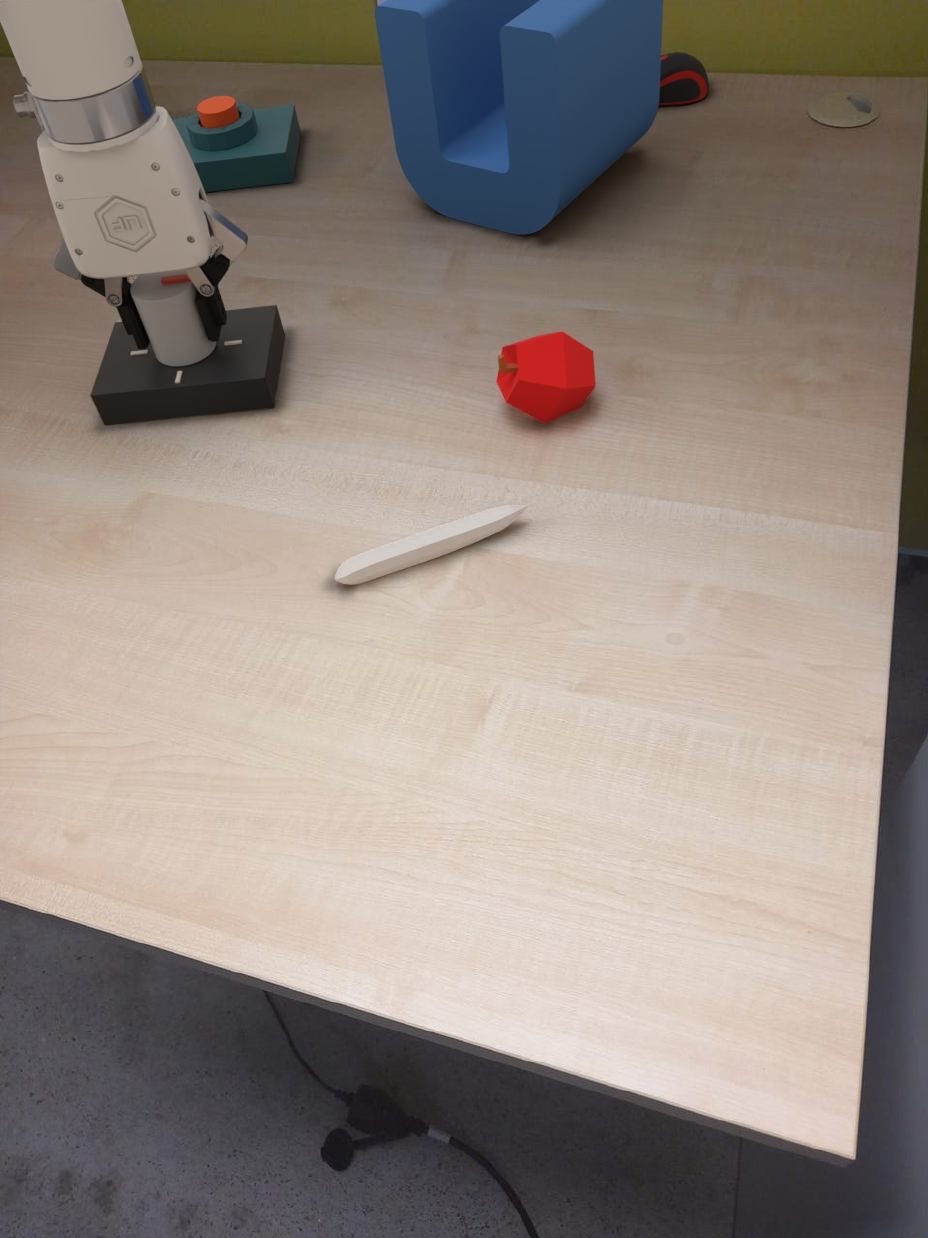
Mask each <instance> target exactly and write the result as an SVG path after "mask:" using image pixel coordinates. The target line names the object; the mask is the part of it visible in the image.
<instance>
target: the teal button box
mask: <svg viewBox="0 0 928 1238" xmlns="http://www.w3.org/2000/svg"><path fill="white" fill-rule="evenodd" d="M236 105H237V109H238V113H239V117H240V119H239V120H237V121H236V122H235V123H233V124H230V125H227V126H225V127H221V128H212V129H210V128H204V127H202V124H201V121H200V118H199V114H198V111H196V112H195V113H194V114H192V115H191V116H188V117H180V118H171V119H172V121H173V123H174V125H175V126H176V128H177V130H178V132H179V134H180V136H181V138H182V140H183V142H184V144H185V146H186V148H187V150H188V152H189V155H190V157H191V159H192V161H193V163H194V166H195V168H196V171H197V173H198V176H199V178H200V181H201V183H202V186H203V188H204V191H205V193H212V192H220V191H229V190H236V189H237V190H239V189H247V188H255V187H264V186H271V185H272V186H273V185H281V184H289V183H290V184H291V183H293V182H294V176H295V171H296V165H297V159H298V153H299V147H300V141H301V136H302V131H301V127H300V123H299V119H298V118H299V117H298V114H297V110H296V105H295V104H288V105H278V106H271V107H263V108H262V107H261V108H254V109H253V108H251V106H249V105H247V104H246V103H239V102H236Z"/></svg>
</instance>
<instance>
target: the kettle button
mask: <svg viewBox="0 0 928 1238" xmlns="http://www.w3.org/2000/svg"><path fill="white" fill-rule="evenodd" d="M236 103H237V102H236V99H235V98H234V97H233V96H229V95H217V96H212V97H208V98H206V99H204V100H202V101H201V102H200V103H199V104H197V106H196V112H198V114H199V118H200V121H201V124H202V127H204V128H210V129H212V128H221V127H225V126H227V125H230V124H233V123H235V122H236V121H237V120H239V119H240V117H239V113H238V109H237V105H236Z"/></svg>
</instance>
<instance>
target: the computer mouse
mask: <svg viewBox="0 0 928 1238" xmlns="http://www.w3.org/2000/svg"><path fill="white" fill-rule="evenodd" d="M709 89H710V84H709V77H708V73H707V70H706V68H705V67H704V65H703V63H702V62H701V61H700V60H699V59H698V58H697V57H695V56H693V55H692V54H689V53H687V52H680V51H679V52H678V51H676V52H669V53H665V54H661V71H660V96H659V106H658V108H660V107H677V106H685V105H691V104H695V103H698V102H700V101H702V100H703V99H704V98H706V96H707V95H708V93H709Z"/></svg>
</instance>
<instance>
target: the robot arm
mask: <svg viewBox="0 0 928 1238" xmlns="http://www.w3.org/2000/svg"><path fill="white" fill-rule="evenodd" d="M0 25H1V27H2V29H3V32H4V34H5V37H6V39H7V41H8V44H9V46H10V48H11V51H12V53H13V56H14V58H15V61H16V64H17V66H18V67H19V70H20V73H21V76H22V78H23V81H24V82H25V85H26V87H27V90H26V91H24V92H23V94H22V93H21V94H16V95H13V99H12V101H13V107H14V110H15V112H16V114H17V115H18V116H19V117H20V118H25V117H29V118H31V119H34V118H35V119H36V121H37V122H38V124H39V127H40V130H41V133H40V134H39V136H38V138H37V140H36V144H37V150H38V154H39V155H38V156H39V159H40V164H41V168H42V172H43V176H44V180H45V184H46V187H47V192H48V194H49V197H50V201H51V204H52V205H51V206H52V207H53V211H54V214H55V217H56V220H57V223H58V226H59V229H60V232H61V234H62V238H61V240H60V243H59V246H58V248H57V251H56V254H55V257H54V259H53V262H52V267H53V268H54V269H55V270H56V271H57V272H60V273H62V274H64V275H66V276H68V277H70V278H72V279H74V280H76V281H78V280H79V281H80V282H81V283H82V285H84V286H85V287H86V288H88V289H90V290H92V291H94V292H95V293H97V294H99V295H101V296H102V297H104V298H105V300H106V302H107V303H108V305H109V306H111V307H114V308H115V309H116V310H117V313H118V315H119V318H120V320H121V322H123V325H124V327H125V330H126V332H127V334H128V335H133V338H134V340H135V342H136V345H137V347H138V349H139V350H141V349H146V348H147V347H148V346H149V342H150V340H149V338H148V335H147V333H146V330H145V328H144V325H143V323H142V320H141V318H140V315H139V313H138V310H137V308H136V305H135V303H134V300H133V298H132V295H131V293H130V287H131V284H132V283H131V282H130V279H129V278H130V277H138V276H140V275H148V274H157V273H166V272H175V271H182V270H184V271H185V273H186V274H187V276H188V277H189V278H190V280H191V281H192V283H193V284H194V285H195V287H196V290H197V294H196V297H195V303H196V306H197V309H198V312H199V314H200V317H201V320H202V323H203V326H204V329H205V332H206V334H207V337H208V340H211V342H217V341H219V337H220V332H221V328H222V325H226V322H227V314H226V310H227V309H226V307H225V304H224V300H223V298H222V295H221V292H220V289H219V284H220V282H221V281H222V279H223V278H224V277H225V275H226V274H227V272H228V271H229V269H230V267H231V266H232V265H233V264H234V263H235V262H236V261H237V260H238V259H239V257H241V255H242V254H243V253H244V252H245V251H246V249H247V246H248V241H249V236H248V234H247V233H246V232H245V231H244V230H242V229H241V228H240V227H239V226H237V225H236V224H235V223H233V222H232V221H231V220H230V219H229V218H227V217H225V216H224V215H223V213H220V211H218V210H217V209H215V208H214V207H213V206H212V205H211V204H210V202H209V199H208V197H207V194H206V192H205V191H204V188H203V186H202V183H201V181H200V178H199V176H198V173H197V171H196V168H195V166H194V163H193V161H192V159H191V157H190V155H189V152H188V150H187V148H186V146H185V144H184V142H183V140H182V138H181V136H180V134H179V132H178V130H177V128H176V126H175V125H174V123H173V121H172V119H173V118H172V117H171V116H170V114H169V112H168V110H167V109H166V108H165V107H163V106H159V105H158V106H157V104H156V101H155V98H154V95H153V93H152V90H151V86H150V83H149V80H148V76H147V74H146V70H145V68H144V65H143V62H142V59H141V57H140V53H139V50H138V46H137V44H136V41H135V38H134V33H133V32H132V28H131V25H130V22H129V19H128V16H127V13H126V10H125V6H124V4H123V0H0ZM211 237H214V238H215V239H216V240H218V241H219V242H220V243H221V245H220V247H218V248H216V250H215V251H214V253H213V254H212V256H210V255H211V252H212V243H211Z"/></svg>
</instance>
